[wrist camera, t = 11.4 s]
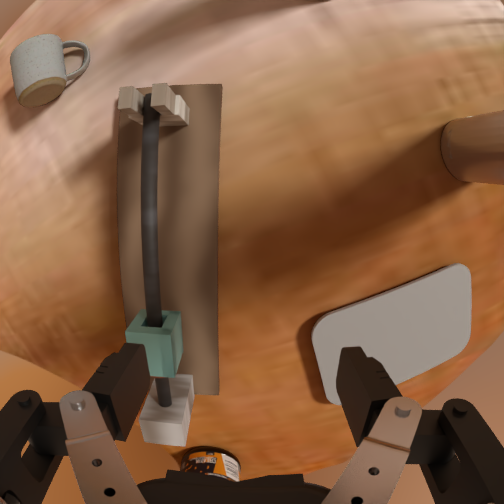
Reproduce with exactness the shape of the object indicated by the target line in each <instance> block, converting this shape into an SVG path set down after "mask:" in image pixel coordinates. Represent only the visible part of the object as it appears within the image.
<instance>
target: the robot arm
mask: <svg viewBox="0 0 504 504" xmlns="http://www.w3.org/2000/svg"><path fill="white" fill-rule="evenodd" d="M441 152H442V156H443V160H444V162H445V165H446V167H447V168H448V170H449V171H450V173H451V174H452V175H453V176H454V177H455V178H457V179H459V180H461V181H465V182H477V183H488V184H499V185H504V110H503V111H497V112H492V113H486V114H481V115H476V116H470V117H465V118H460V119H456V120H452V121H451V122H449V123H448V124H447V125H446V127H445V128H444V130H443V133H442V137H441ZM149 386H150V372H149V367H148V361H147V355H146V350H145V346H144V345H143V344H137V343H125V344H124V345H123V347H122V348H121V350H120V351H119V352H118V353H113V354H111V355H110V356H108V357H106V358H105V359H104V361H103V362H102V363H101V365H100V367H98V369H97V370H96V373H94V374H93V376H92V377H91V378H90V380H89V381H88V382H87V384H86V385H85V387H84V388H83V389H82V391H81V390H79V391H73V392H70V393H68V394H66V395H65V396H63V397H62V398H61V400H60V402H42V399H41V397H40V395H39V394H38V393H37V392H35V391H33V390H23V391H20V392H18V393H16V394H15V395H13V396H12V397H11V398H10V400H9V401H8V402H7V403H6V404H5V406H4V407H3V408H2V409H1V411H0V504H42V501H43V499H44V497H45V495H46V492H47V490H48V488H49V486H50V484H51V482H52V479H53V477H54V475H55V473H56V471H57V469H58V467H59V465H60V463H61V460H62V459H63V456H69V457H70V461H71V464H72V467H73V470H74V473H75V476H76V479H77V482H78V485H79V488H80V491H81V493H82V496H83V498H84V501H85V503H86V504H387V503H388V502H389V499H390V497H391V495H392V493H393V491H394V489H395V487H396V484H397V482H398V480H399V478H400V475H401V473H402V471H403V468H404V466H405V464H419V465H420V467H421V470H422V472H423V475H424V477H425V479H426V482H427V484H428V487H429V489H430V492H431V494H432V497H433V499H434V502H435V504H504V448H503V446H502V445H501V443H500V442H499V440H498V439H497V437H496V436H495V434H494V433H493V432H492V430H491V429H490V427H489V426H488V425H487V423H486V422H485V420H484V419H483V418H482V416H481V415H480V414H479V412H478V411H477V409H476V408H475V407H474V406H473V404H471V403H470V402H468V401H466V400H463V399H451V400H448V401H447V402H445V403H444V405H443V408H442V410H422V408H421V406H420V404H419V403H418V402H416V401H415V400H413V399H411V398H407V397H403V396H402V395H401V393H400V392H399V390H398V388H397V387H396V385H395V384H394V382H393V380H392V379H391V378H390V376H389V374H388V373H387V372H386V370H385V368H384V366H383V365H382V363H381V362H379V361H378V360H376V359H375V358H373V357H367V356H366V354H365V352H364V351H363V349H362V348H361V347H360V346H356V347H343V348H342V349H341V353H340V359H339V365H338V371H337V376H336V390H337V394H338V396H339V399H340V402H341V404H342V407H343V410H344V413H345V415H346V418H347V421H348V424H349V426H350V429H351V432H352V435H353V438H354V440H355V443H356V446H357V447H359V448H358V449H357V451H356V453H355V454H354V456H353V457H352V459H351V461H350V462H349V464H348V466H347V467H346V469H345V470H344V472H343V473H342V475H341V476H340V478H339V479H338V481H337V482H336V484H335V485H334V486H333V488H332V489H328V488H326V487H323V486H320V485H317V484H312V483H305V482H304V479H303V474H290V475H268V476H264V477H259V478H254V479H248V480H243V481H236V482H233V481H228V480H224V479H220V478H216V477H212V476H208V475H205V474H201V473H193V472H183V471H175V470H167V474H166V478H160V479H154V480H149V481H146V482H143V483H140V484H138V485H136V483H135V482H134V480H133V478H132V476H131V474H130V472H129V471H128V469H127V467H126V465H125V463H124V461H123V459H122V457H121V455H120V453H119V451H118V449H117V447H116V445H115V442H114V441H115V440H120V441H126V439H127V437H128V435H129V432H130V430H131V428H132V425H133V423H134V421H135V419H136V416H137V414H138V412H139V410H140V407H141V405H142V403H143V401H144V398H145V396H146V394H147V392H148V389H149ZM27 441H29V443H30V444H29V446H28V448H27V449H26V451H25V453H24V454H23V456H22V458H21V451H22V449H23V447H24V445H25V444H26V442H27ZM455 453H456V454H455ZM456 455H457V456H456ZM457 457H458V458H457ZM458 459H459V460H458ZM459 461H460V462H459Z"/></svg>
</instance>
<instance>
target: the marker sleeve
mask: <svg viewBox="0 0 504 504" xmlns="http://www.w3.org/2000/svg"><path fill="white" fill-rule="evenodd" d="M162 321H163V326H162V328H158V327H148V323H147V314H146V309H141V310H140V311H139V313H138V314H137V315H136V317H135V318H134V320H133V321H132V322H131V324H130V325H129V327H128V328H127V329H126V331H125V335H126V342H127V343H137V344H143V345H144V346H145V350H146V355H147V361H148V367H149V372H150V376H157V377H169V378H175V376H176V373H177V370H178V366H179V363H180V360H181V356H182V353H183V338H182V323H181V311H165V310H162Z"/></svg>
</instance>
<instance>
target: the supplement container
mask: <svg viewBox="0 0 504 504" xmlns="http://www.w3.org/2000/svg"><path fill="white" fill-rule="evenodd" d="M240 470H241V466H240V462H239V460H238V459H237V457H236V456H235V455H233V454H232V453H230V452H228V451H226V450H224V449H220V448H216V447H199V448H195V449H192V450H190V451H188V452H187V453H186V454H185V455H184V456H183V458H182V461H181V469H180V471H183V472H193V473H201V474H205V475H208V476H212V477H216V478H220V479H224V480H228V481H233V482H236V481H240Z"/></svg>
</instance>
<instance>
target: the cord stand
mask: <svg viewBox="0 0 504 504" xmlns="http://www.w3.org/2000/svg"><path fill="white" fill-rule="evenodd" d="M221 107H222V84H194V85H172V86H168V85H167V83H160V84H153V85H152V87H146V88H136V89H135V88H134V87H133V86H129V87H121V88H120V91H119V101H118V110H120V120H119V136H118V159H117V218H118V243H119V259H120V272H121V283H122V293H123V303H124V311H125V319H126V327H127V328H128V327H129V325H130V324H131V322H132V321H133V320H134V318H135V317H136V315H137V314H138V313H139V311H140V310H141V309H146V314H147V323H148V327H158V328H162V326H163V321H162V310H165V311H181V323H182V338H183V353H182V356H181V360H180V363H179V366H178V370H177V373H176V376H175V378H169V377H157V376H150V386H149V389H148V390H150V391H149V394H148V396H147V399H146V401H145V404H144V407H143V409H142V412H141V415H140V417H139V423H140V427H141V430H142V434H143V438H144V441H145V442H149V443H157V444H165V445H174V446H184V447H185V445H186V440H187V434H188V429H189V423H190V418H191V412H192V407H193V401H194V394H200V395H219V355H218V198H219V159H220V130H221Z"/></svg>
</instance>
